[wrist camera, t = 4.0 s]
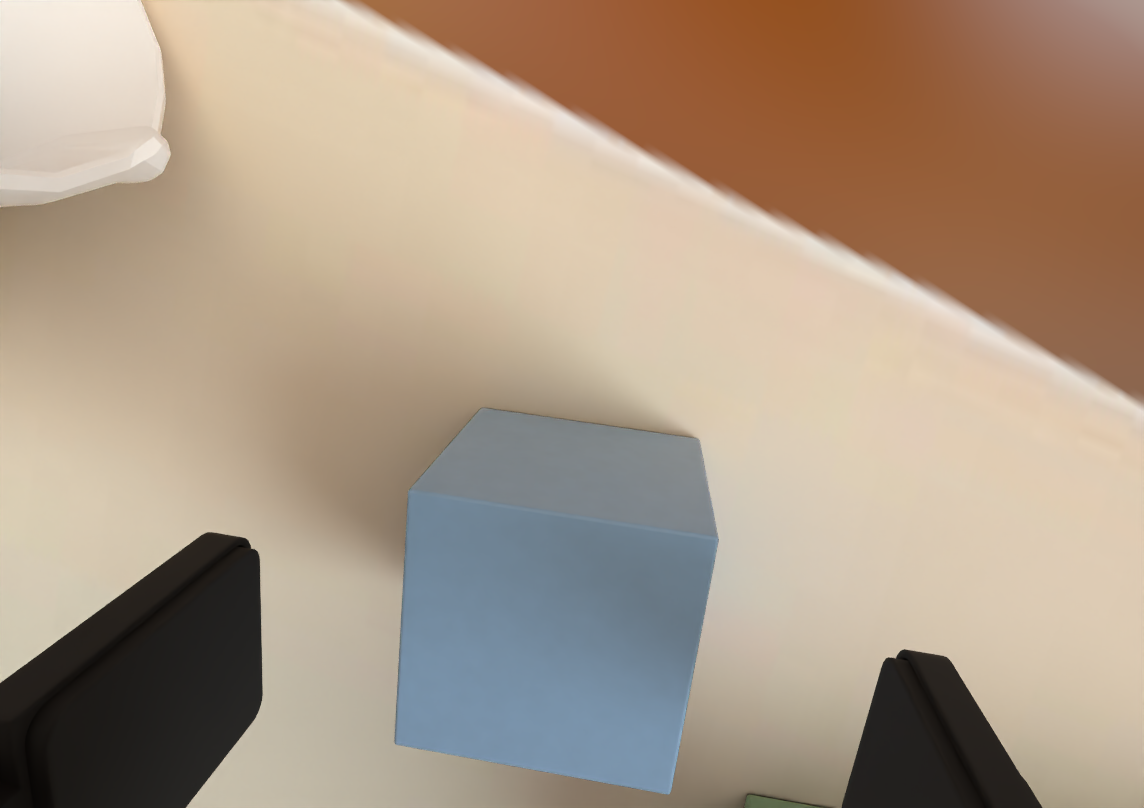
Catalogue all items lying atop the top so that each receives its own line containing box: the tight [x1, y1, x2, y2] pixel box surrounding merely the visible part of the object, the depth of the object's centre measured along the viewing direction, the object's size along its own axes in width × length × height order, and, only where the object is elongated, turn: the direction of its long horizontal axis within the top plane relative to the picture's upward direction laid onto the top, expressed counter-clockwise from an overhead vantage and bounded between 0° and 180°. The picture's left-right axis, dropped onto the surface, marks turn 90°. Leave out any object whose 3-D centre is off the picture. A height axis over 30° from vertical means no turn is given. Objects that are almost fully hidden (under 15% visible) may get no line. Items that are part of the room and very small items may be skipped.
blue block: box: [395, 408, 719, 794], centre depth 14 cm, size 5×5×5 cm
